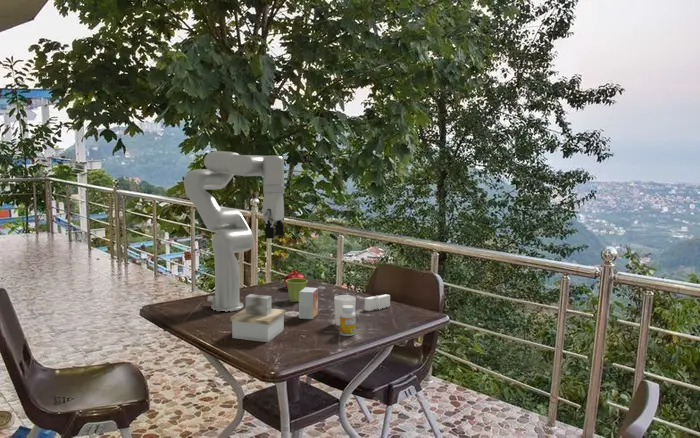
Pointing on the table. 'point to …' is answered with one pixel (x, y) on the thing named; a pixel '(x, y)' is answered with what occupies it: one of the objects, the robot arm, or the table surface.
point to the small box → (308, 303)
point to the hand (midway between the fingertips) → (274, 236)
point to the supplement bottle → (347, 320)
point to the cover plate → (257, 317)
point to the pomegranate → (293, 276)
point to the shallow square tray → (257, 330)
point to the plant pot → (295, 288)
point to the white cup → (340, 302)
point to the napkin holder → (377, 302)
